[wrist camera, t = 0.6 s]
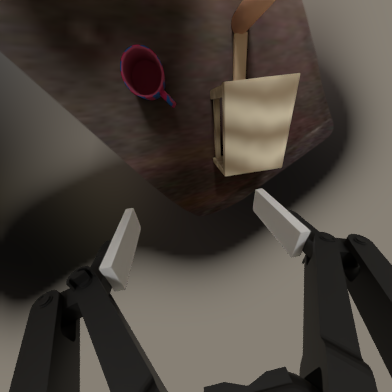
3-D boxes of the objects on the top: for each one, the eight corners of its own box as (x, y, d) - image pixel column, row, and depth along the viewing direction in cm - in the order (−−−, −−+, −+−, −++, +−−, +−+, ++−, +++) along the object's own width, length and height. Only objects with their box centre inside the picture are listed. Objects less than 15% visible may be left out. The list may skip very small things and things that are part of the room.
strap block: (224, 10, 26) (253, -46, 17) (256, 7, 27) (303, -49, 17) (225, 149, 39) (242, 161, 29) (247, 145, 39) (271, 157, 30)
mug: (146, 48, 27) (139, 31, 21) (183, 97, 32) (186, 94, 26) (123, 77, 29) (110, 69, 23) (161, 120, 33) (160, 123, 28)
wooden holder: (209, 89, 32) (224, 81, 23) (265, 83, 33) (300, 73, 24) (213, 162, 40) (225, 176, 31) (258, 155, 41) (281, 167, 32)
